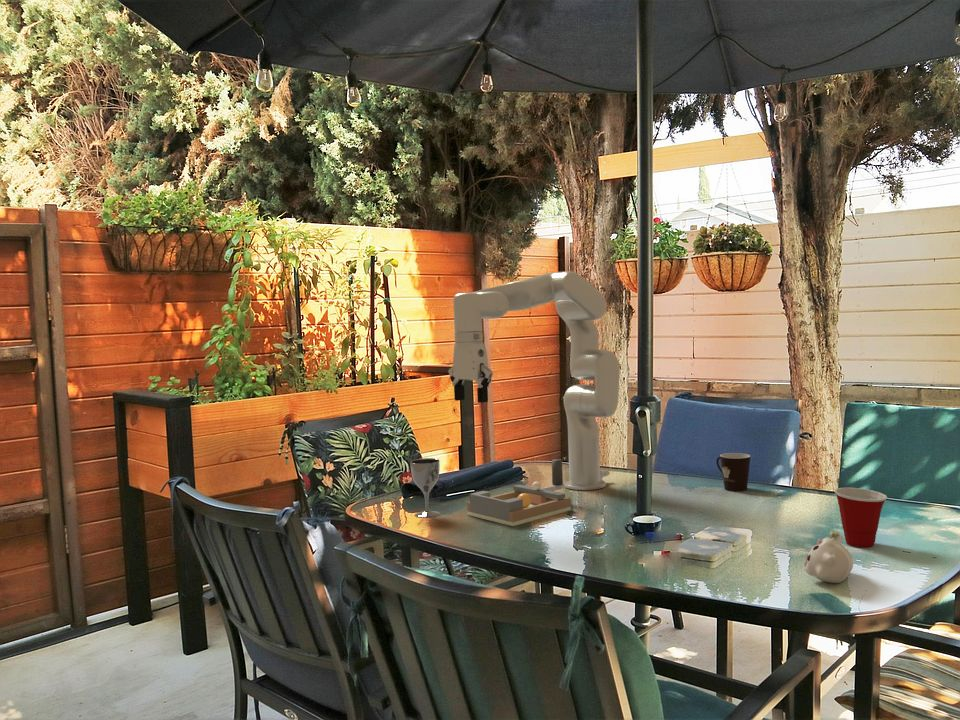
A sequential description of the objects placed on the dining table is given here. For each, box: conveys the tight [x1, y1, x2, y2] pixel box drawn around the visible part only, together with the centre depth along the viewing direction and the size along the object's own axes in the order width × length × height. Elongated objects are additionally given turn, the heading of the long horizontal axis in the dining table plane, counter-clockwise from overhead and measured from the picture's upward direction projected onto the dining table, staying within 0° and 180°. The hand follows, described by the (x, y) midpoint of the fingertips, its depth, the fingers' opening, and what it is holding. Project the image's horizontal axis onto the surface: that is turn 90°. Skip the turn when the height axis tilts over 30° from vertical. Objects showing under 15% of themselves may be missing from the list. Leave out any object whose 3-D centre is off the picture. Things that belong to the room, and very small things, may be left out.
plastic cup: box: [834, 487, 888, 549], centre depth 186 cm, size 11×11×12 cm
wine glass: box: [410, 457, 441, 519], centre depth 228 cm, size 8×8×15 cm
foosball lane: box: [466, 490, 572, 527], centre depth 227 cm, size 22×18×6 cm
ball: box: [517, 493, 531, 508], centre depth 228 cm, size 4×4×4 cm
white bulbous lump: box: [804, 530, 854, 584], centre depth 164 cm, size 10×8×15 cm
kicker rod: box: [512, 458, 566, 504], centre depth 234 cm, size 12×18×11 cm, turn 41°
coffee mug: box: [716, 452, 751, 493], centre depth 246 cm, size 12×9×10 cm
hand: (471, 401), depth 225 cm, fingers open, 9 cm apart
